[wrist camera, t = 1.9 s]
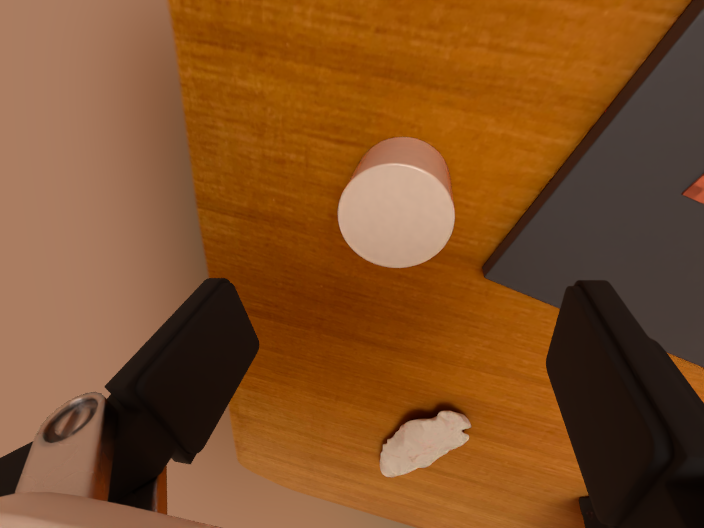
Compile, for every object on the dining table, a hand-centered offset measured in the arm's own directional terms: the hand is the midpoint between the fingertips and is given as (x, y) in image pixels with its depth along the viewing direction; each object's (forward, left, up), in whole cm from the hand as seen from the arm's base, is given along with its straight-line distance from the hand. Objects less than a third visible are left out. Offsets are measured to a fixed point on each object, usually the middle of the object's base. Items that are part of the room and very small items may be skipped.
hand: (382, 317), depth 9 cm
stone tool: (+26, 0, -10) cm, 27 cm away
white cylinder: (0, 0, -10) cm, 10 cm away
